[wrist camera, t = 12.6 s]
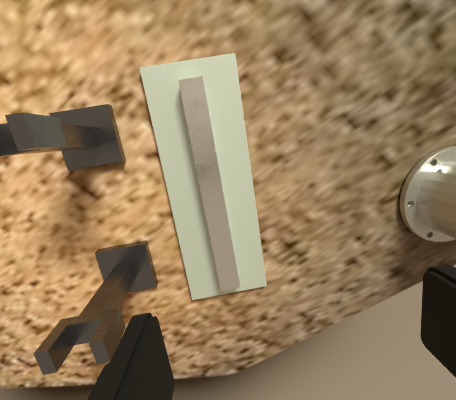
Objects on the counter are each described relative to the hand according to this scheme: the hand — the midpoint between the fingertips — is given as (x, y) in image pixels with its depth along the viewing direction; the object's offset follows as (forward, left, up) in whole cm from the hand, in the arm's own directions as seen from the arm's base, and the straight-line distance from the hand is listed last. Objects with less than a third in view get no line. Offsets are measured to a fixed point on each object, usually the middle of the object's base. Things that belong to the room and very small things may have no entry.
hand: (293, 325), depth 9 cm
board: (+2, -1, -22) cm, 22 cm away
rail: (+2, -1, -21) cm, 22 cm away
